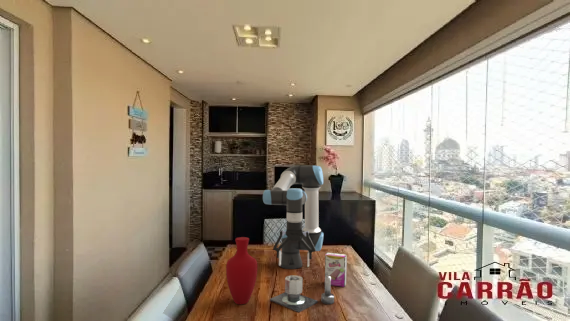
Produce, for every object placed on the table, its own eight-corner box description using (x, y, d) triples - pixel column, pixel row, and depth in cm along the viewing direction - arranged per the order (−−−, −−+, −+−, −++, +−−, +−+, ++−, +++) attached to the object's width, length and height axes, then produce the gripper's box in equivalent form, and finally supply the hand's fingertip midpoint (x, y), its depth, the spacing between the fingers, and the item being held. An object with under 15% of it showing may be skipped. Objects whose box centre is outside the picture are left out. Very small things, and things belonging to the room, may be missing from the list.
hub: (269, 300, 154) (270, 279, 154) (288, 292, 165) (289, 272, 165) (299, 312, 142) (299, 289, 142) (317, 302, 153) (317, 281, 153)
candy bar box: (324, 284, 175) (324, 254, 175) (326, 281, 180) (326, 252, 180) (345, 287, 171) (345, 256, 171) (346, 284, 176) (346, 254, 176)
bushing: (284, 293, 150) (284, 281, 150) (286, 287, 158) (286, 275, 158) (301, 294, 149) (301, 281, 149) (302, 288, 157) (302, 275, 157)
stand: (318, 301, 153) (319, 276, 154) (325, 297, 158) (326, 273, 158) (329, 305, 149) (329, 279, 150) (336, 301, 154) (336, 276, 154)
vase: (229, 311, 143) (230, 243, 143) (222, 298, 156) (223, 236, 157) (261, 305, 149) (262, 240, 149) (251, 293, 162) (252, 233, 162)
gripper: (267, 221, 151) (267, 266, 151) (320, 223, 148) (320, 269, 149) (269, 218, 159) (269, 261, 159) (320, 220, 156) (320, 263, 156)
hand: (294, 265), depth 154 cm, fingers open, 13 cm apart
